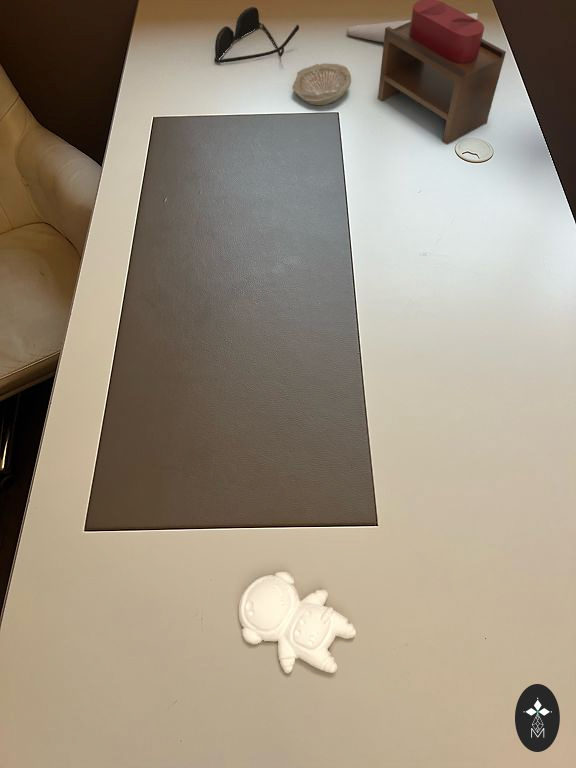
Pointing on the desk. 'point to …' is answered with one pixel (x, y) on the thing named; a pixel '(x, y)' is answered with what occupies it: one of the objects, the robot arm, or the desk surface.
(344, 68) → the fossil
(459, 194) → the desk surface
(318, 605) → the astronaut figurine
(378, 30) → the pale tapered cone
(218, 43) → the sunglasses
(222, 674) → the desk surface
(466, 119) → the rack
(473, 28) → the red rounded block
